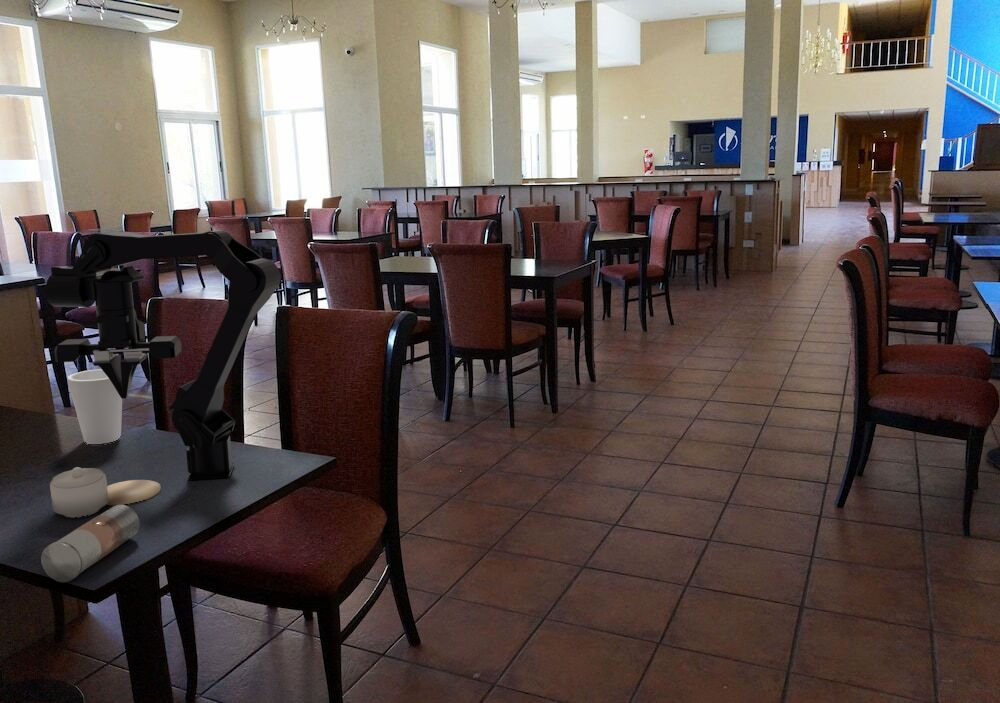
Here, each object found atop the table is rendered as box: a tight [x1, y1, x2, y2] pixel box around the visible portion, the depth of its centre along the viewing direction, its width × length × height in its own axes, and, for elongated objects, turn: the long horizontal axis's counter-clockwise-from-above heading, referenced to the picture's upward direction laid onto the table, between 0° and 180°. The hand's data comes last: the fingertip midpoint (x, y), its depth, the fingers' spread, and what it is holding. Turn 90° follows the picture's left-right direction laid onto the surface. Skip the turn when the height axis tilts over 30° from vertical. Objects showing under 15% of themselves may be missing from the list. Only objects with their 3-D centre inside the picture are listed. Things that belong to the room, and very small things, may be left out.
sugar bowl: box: [49, 466, 109, 519], centre depth 122 cm, size 8×8×7 cm
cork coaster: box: [105, 479, 162, 507], centre depth 129 cm, size 10×10×1 cm
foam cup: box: [67, 368, 123, 445], centre depth 154 cm, size 10×9×13 cm
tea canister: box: [40, 505, 140, 583], centre depth 107 cm, size 5×5×13 cm
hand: (124, 397), depth 137 cm, fingers closed
